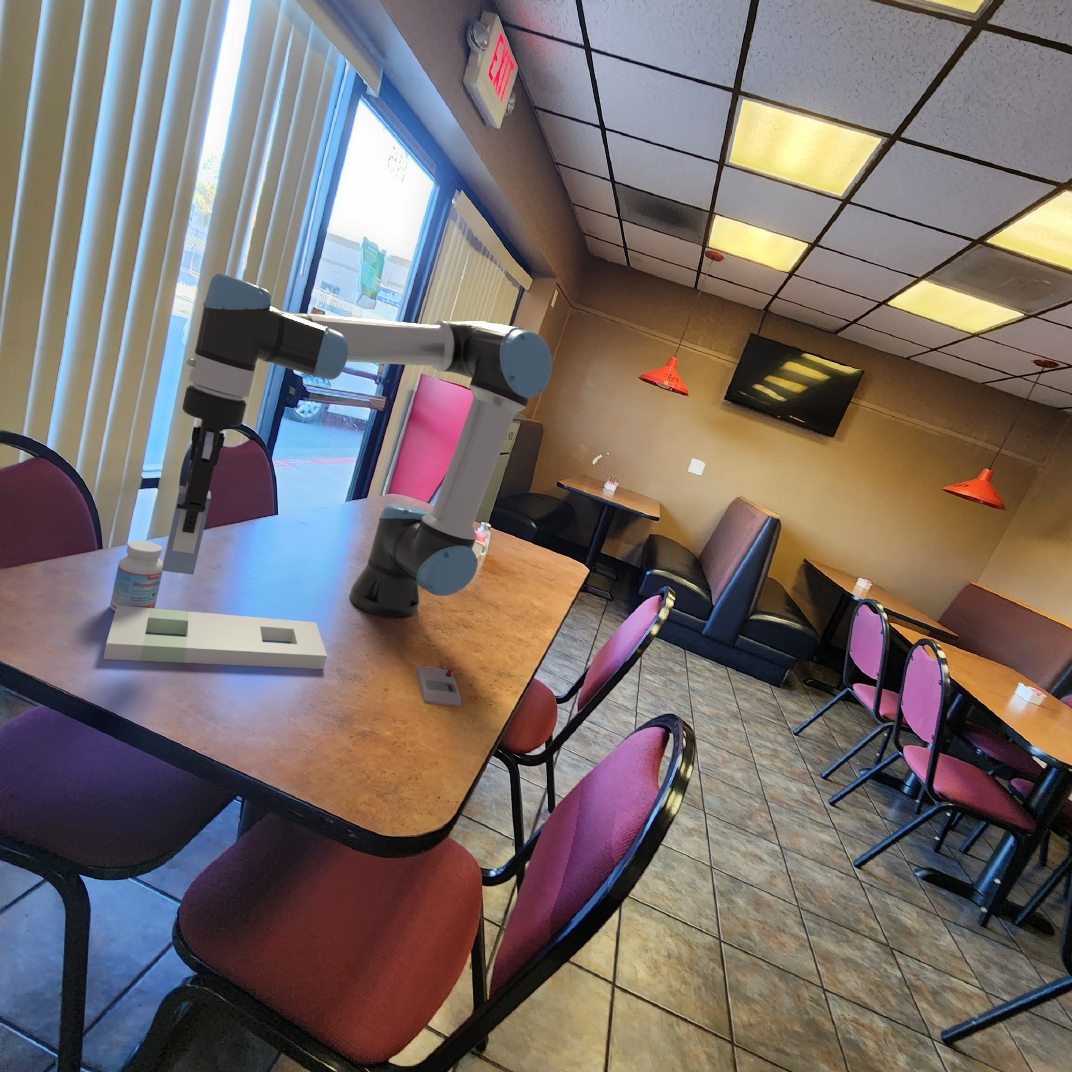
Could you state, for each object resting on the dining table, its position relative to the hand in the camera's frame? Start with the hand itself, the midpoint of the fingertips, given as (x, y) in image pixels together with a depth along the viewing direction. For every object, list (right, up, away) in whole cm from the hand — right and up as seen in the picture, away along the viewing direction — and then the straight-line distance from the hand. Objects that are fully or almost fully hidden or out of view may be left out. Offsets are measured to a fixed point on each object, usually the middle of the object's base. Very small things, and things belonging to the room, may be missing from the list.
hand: (183, 545), depth 86 cm
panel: (+2, -16, +8) cm, 18 cm away
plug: (-1, -3, +1) cm, 4 cm away
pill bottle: (-14, -11, +9) cm, 20 cm away
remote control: (+34, -26, +18) cm, 47 cm away
